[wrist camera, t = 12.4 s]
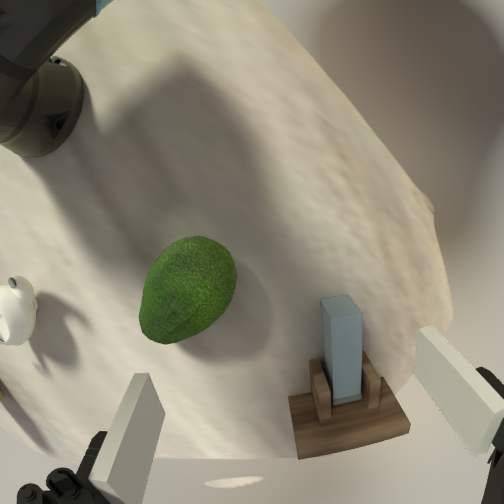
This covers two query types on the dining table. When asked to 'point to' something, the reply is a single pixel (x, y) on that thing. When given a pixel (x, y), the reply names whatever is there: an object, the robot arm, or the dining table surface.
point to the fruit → (186, 289)
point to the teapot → (17, 311)
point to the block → (342, 348)
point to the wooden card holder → (345, 415)
